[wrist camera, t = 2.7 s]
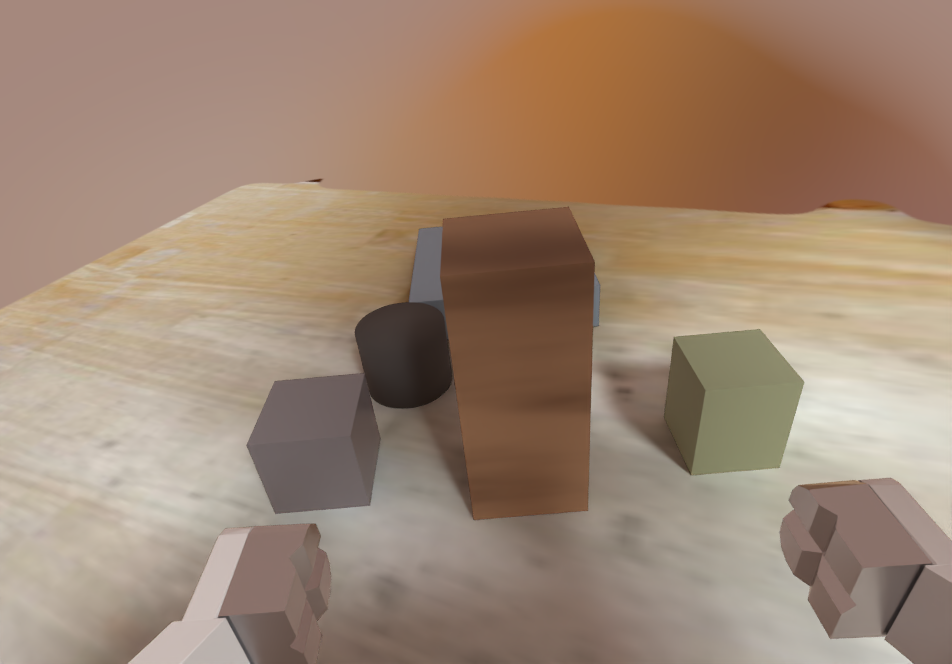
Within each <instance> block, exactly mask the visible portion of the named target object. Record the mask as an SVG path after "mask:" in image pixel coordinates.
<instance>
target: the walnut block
mask: <svg viewBox="0 0 952 664" xmlns="http://www.w3.org/2000/svg"><path fill="white" fill-rule="evenodd" d="M594 272H595V262H594V259H593V257H592V255H591V253H590V251H589V249H588V247H587V245H586V242H585V240H584V238H583V236H582V234H581V232H580V230H579V228H578V225H577V223H576V221H575V219H574V217H573V215H572V213H571V211H570V209H569V207H563V208H552V209H542V210H531V211H521V212H510V213H500V214H489V215H479V216H468V217H458V218H447V219H443V230H442V248H441V267H440V280H441V288H442V295H443V302H444V309H445V316H446V324H447V331H448V338H449V345H450V353H451V360H452V367H453V374H454V381H455V389H456V396H457V403H458V410H459V418H460V425H461V432H462V439H463V446H464V454H465V461H466V468H467V475H468V482H469V490H470V497H471V504H472V511H473V519H474V520H480V519H492V518H504V517H516V516H528V515H540V514H552V513H564V512H577V511H588V486H589V450H590V414H591V379H592V343H593V308H594Z"/></svg>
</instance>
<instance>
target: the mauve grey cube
mask: <svg viewBox="0 0 952 664" xmlns="http://www.w3.org/2000/svg"><path fill="white" fill-rule="evenodd" d="M379 445H380V435H379V431H378V426H377V422H376V418H375V414H374V410H373V406H372V402H371V398H370V394H369V389H368V385H367V381H366V377H365V373H360V374H349V375H338V376H327V377H316V378H305V379H294V380H283V381H275V382H274V384H273V386H272V389H271V391H270V393H269V395H268V398H267V400H266V402H265V404H264V407H263V409H262V411H261V414H260V416H259V418H258V420H257V423H256V425H255V427H254V430H253V432H252V434H251V436H250V439H249V441H248V443H247V448H248V450H249V452H250V455H251V457H252V459H253V462H254V464H255V467H256V469H257V471H258V474H259V476H260V478H261V481H262V483H263V486H264V488H265V490H266V493H267V495H268V497H269V500H270V502H271V505H272V507H273V509H274V512H275V514H278V513H290V512H301V511H313V510H325V509H336V508H348V507H359V506H370V502H371V495H372V489H373V483H374V476H375V470H376V464H377V457H378V451H379Z"/></svg>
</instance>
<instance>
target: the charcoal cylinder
mask: <svg viewBox="0 0 952 664" xmlns="http://www.w3.org/2000/svg"><path fill="white" fill-rule="evenodd" d="M355 337H356V341H357V345H358V349H359V353H360V357H361V361H362V365H363V369H364V373H365V377H366V381H367V385H368V389H369V393H370V395H371V397H372V398H373V399H374V400H375V401H376V402H378V403H379V404H381V405H384V406H387V407H391V408H413V407H418V406H422V405H425V404H427V403H430V402H432V401H434V400H436V399H437V398H439V397H440V396H441V395H443V394H444V393H445V392H446V391H447V389H448V388H449V386H450V384H451V382H452V370H451V363H450V356H449V349H448V342H447V335H446V328H445V321H444V316H443V314H442V313H441V311H439V310H438V309H437V308H435V307H433V306H431V305H428V304H424V303H417V302H405V303H397V304H392V305H388V306H384V307H382V308H379V309H377V310H375V311H373V312H371V313H369V314H368V315H366V316H365V317H364V318H363V319H362V320H361V321H360V322H359V323H358V324H357V326H356V329H355Z"/></svg>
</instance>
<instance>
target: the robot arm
mask: <svg viewBox="0 0 952 664" xmlns="http://www.w3.org/2000/svg"><path fill="white" fill-rule="evenodd" d="M789 502H790V504H791V505H792V507H793V508H794V510H793V511H791V512H790V513H789V514H788V515H786V516H785V517H784V518H783V520H782V524H781V528H780V541H781V548H782V551H783V554H784V557H785V560H786V562H787V564H788V566H789V567H790V569H791V571H792V573H793V575H795V576H796V577H797V578H799V579H800V580H802V581H803V582H804V583H806V584H807V585H809V586H810V589H809V595H808V601H809V603H810V605H811V606H812V608H813V610H814V612H815V613H816V615H817V617H818V619H819V620H820V622H821V624H822V626H823V627H824V629H825V631H826V632H827V634H828V636H829V638H830V639H839V638H861V637H884V636H886V637H885V640H886V641H887V642H888V643H889V644H891V645H892V646H893V647H894V648H895V649H897V650H898V651H899V652H900V653H901V654H903V655H904V656H905V657H906V658H908V659H909V660H910V661H911V662H912V663H914V664H952V541H951V540H950V539H949V537H948V536H947V535H946V534H945V533H944V532H943V531H942V530H941V528H940V527H939V526H938V525H937V524H936V523H935V522H934V521H933V519H932V518H931V517H930V516H929V515H928V514H927V513H926V512H925V510H924V509H923V508H922V507H921V506H920V505H919V504H918V503H917V501H916V500H915V499H914V498H913V497H912V496H911V495H910V494H909V492H908V491H907V490H906V489H905V488H904V487H903V486H902V485H901V484H900V483H899V482H897V481H896V480H894V479H892V478H882V479H869V480H859V481H856V480H849V481H838V482H827V483H816V484H805V485H798V486H796V487H795V488H794V489H793V490H792V492H791V495H790V498H789ZM320 538H321V536H320V533H319V531H318V528H317V526H316V524H293V525H273V526H254V527H239V528H225V529H224V531H223V532H222V533H221V534H220V535H219V536H218V538H217V540H216V542H215V544H214V547H213V549H212V551H211V554H210V556H209V558H208V561H207V563H206V565H205V568H204V570H203V572H202V575H201V577H200V579H199V582H198V584H197V586H196V589H195V591H194V593H193V595H192V598H191V600H190V602H189V605H188V607H187V609H186V612H185V614H184V616H183V619H182V621H173V622H172V623H170V624H169V625H168V626H167V627H166V628H165V629H164V630H163V631H162V632H161V633H160V634H159V635H158V636H156V637H155V638H154V639H153V640H152V641H151V642H150V643H149V644H148V645H147V646H146V647H145V648H144V649H143V650H141V651H140V652H139V653H138V654H137V655H136V656H135V657H134V658H133V659H132V660H131V661H130V662H129V663H127V664H316V662H317V658H318V653H319V648H320V643H321V638H322V634H321V631H320V629H319V626H318V623H317V621H318V620H319V618H320V617H321V616H322V615H323V614H324V613H325V612H326V610H327V609H328V604H329V598H330V593H331V569H330V562H329V559H328V556H327V553H326V552H324V551H323V550H321V549H320V548H318V546H319V542H320Z"/></svg>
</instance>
